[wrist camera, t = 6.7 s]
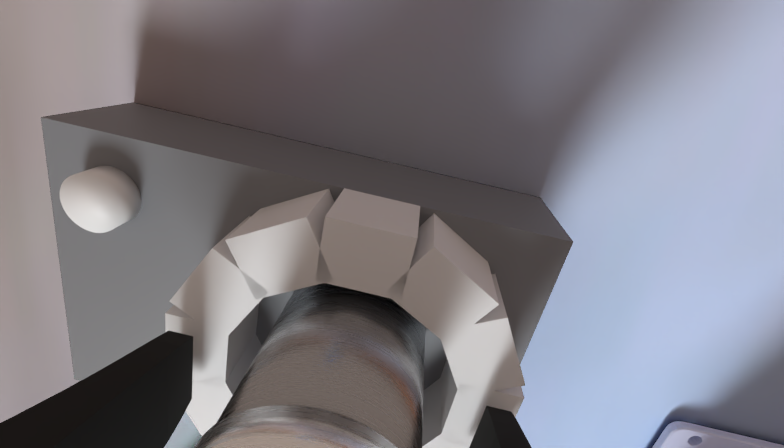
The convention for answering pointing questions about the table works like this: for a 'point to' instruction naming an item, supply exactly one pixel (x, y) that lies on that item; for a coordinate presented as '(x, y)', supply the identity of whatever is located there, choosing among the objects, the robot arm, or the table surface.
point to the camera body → (288, 253)
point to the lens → (330, 377)
